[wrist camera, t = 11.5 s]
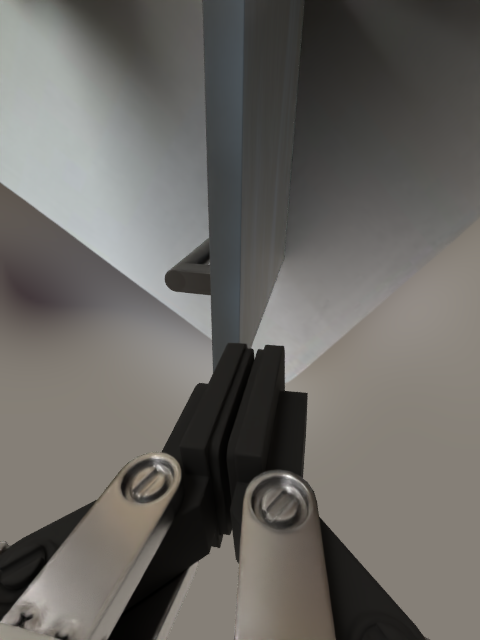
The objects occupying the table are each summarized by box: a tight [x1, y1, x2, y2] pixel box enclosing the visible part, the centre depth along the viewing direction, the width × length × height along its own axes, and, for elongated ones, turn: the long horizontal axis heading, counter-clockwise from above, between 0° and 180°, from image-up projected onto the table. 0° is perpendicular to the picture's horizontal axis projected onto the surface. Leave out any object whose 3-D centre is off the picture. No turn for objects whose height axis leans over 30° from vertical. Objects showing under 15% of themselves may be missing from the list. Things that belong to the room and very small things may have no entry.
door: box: [165, 0, 305, 373], centre depth 25 cm, size 8×26×24 cm, turn 179°
